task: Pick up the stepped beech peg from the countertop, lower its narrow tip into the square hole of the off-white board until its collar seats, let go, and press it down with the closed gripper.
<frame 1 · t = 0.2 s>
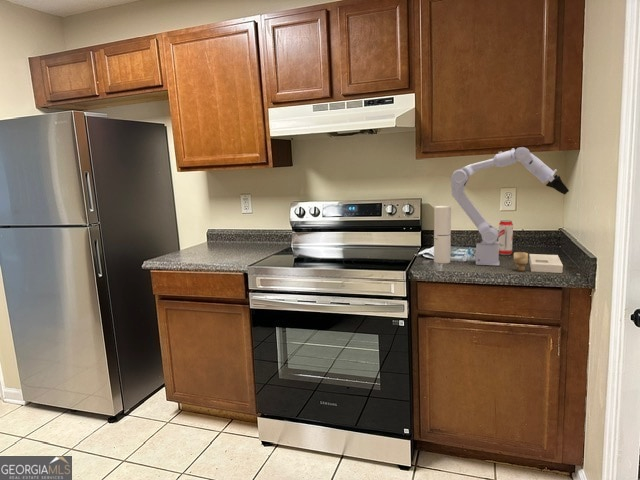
hand: (565, 192, 172), 31 cm above the table, tool tilted 45°, fingers open, 7 cm apart
board: (544, 266, 180), on the table
cylindrical container: (442, 262, 196), on the table
beer can: (504, 254, 206), on the table
peg: (520, 270, 176), on the table
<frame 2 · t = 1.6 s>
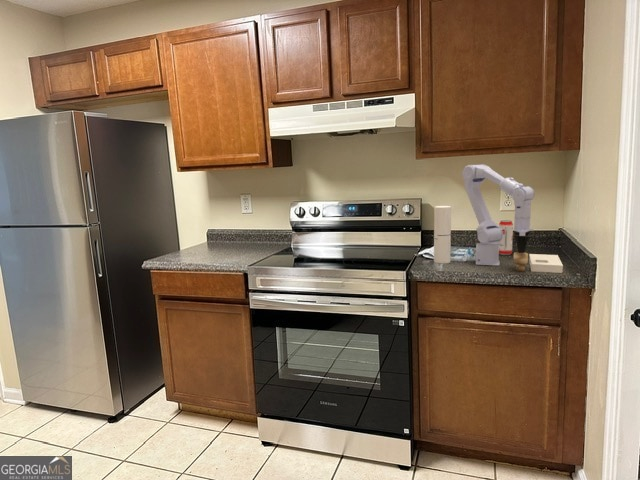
hand: (521, 250, 174), 8 cm above the table, tool pointing down, fingers open, 7 cm apart
nothing on the table moved.
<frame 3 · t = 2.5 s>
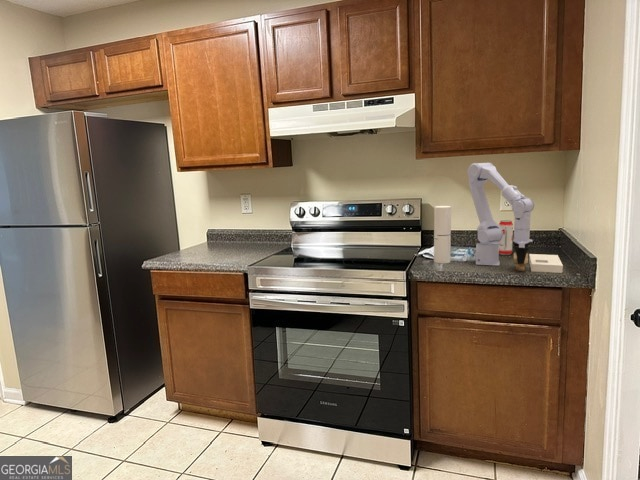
hand: (520, 261, 175), 3 cm above the table, tool pointing down, fingers closed on peg, 5 cm apart
peg: (520, 270, 176), on the table, touching gripper
everything else where it was.
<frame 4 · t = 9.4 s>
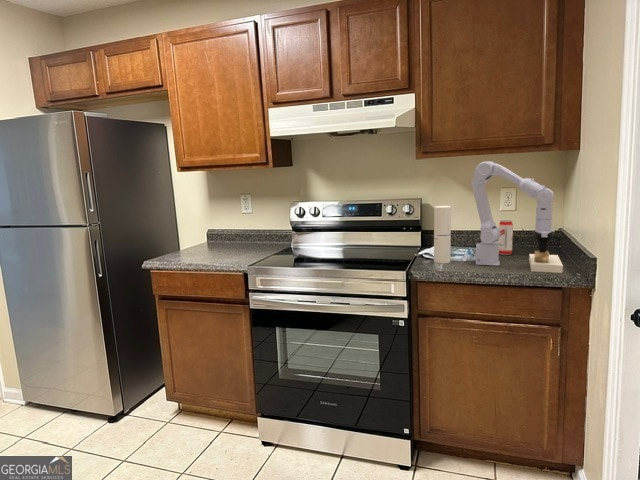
hand: (542, 251, 176), 7 cm above the table, tool pointing down, fingers closed, pressing on peg
peg: (541, 268, 177), resting in board, touching gripper
everything else where it was.
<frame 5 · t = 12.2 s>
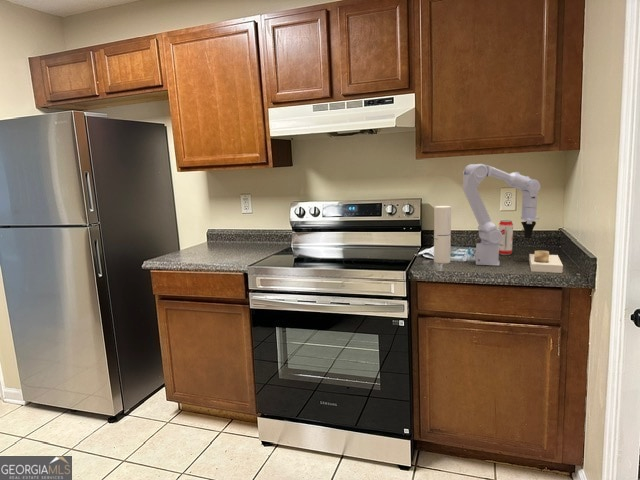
hand: (527, 238, 188), 10 cm above the table, tool pointing down, fingers closed
peg: (541, 268, 177), resting in board
everything else where it was.
at the end: peg 0.1 cm from the target spot on the board, point 0.0 cm above the board's base; peg tilted 0°; the gripper is holding nothing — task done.
